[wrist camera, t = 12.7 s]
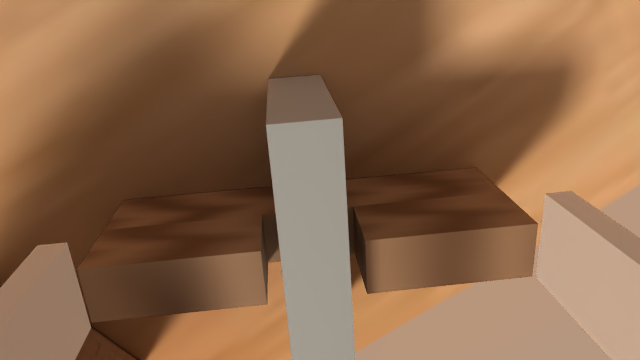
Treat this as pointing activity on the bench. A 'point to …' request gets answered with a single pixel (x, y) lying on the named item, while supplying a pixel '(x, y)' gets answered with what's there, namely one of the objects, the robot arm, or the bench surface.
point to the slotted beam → (263, 246)
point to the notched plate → (311, 216)
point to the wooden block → (101, 349)
